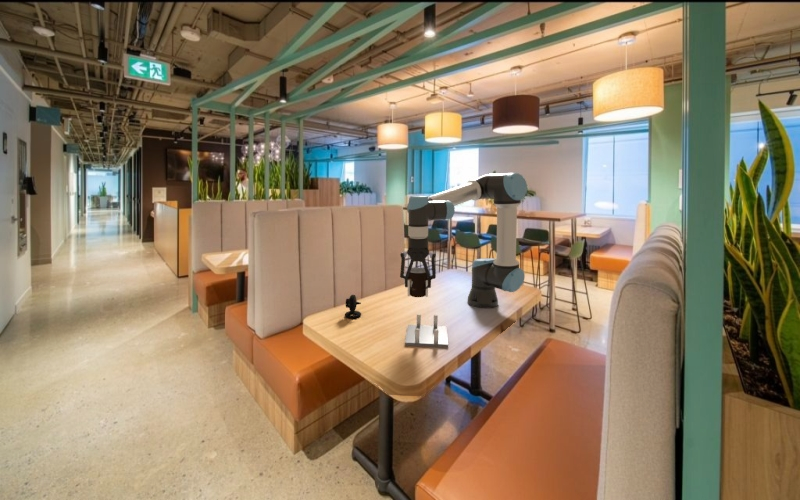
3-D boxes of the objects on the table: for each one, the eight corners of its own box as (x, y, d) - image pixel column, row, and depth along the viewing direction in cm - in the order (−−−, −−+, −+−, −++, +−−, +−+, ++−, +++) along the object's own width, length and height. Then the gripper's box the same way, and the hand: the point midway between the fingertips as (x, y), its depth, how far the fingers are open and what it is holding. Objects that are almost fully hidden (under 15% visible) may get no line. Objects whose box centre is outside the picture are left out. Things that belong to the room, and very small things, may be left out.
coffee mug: (406, 291, 139) (406, 267, 137) (427, 291, 139) (427, 267, 137) (408, 301, 127) (408, 275, 125) (431, 300, 128) (432, 274, 126)
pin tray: (446, 328, 142) (446, 314, 141) (448, 347, 125) (448, 331, 124) (408, 327, 143) (408, 313, 142) (405, 345, 127) (405, 329, 126)
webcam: (346, 312, 160) (345, 292, 158) (362, 313, 160) (361, 292, 158) (343, 319, 152) (342, 297, 150) (359, 319, 152) (359, 297, 150)
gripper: (443, 236, 132) (442, 293, 136) (394, 235, 134) (394, 291, 138) (444, 239, 124) (442, 299, 128) (391, 238, 126) (392, 297, 131)
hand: (417, 295), depth 133 cm, fingers closed on coffee mug, 6 cm apart
